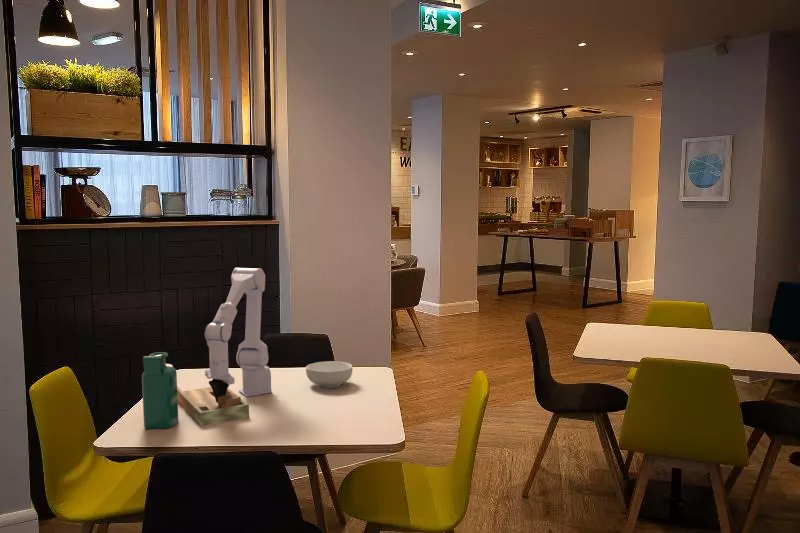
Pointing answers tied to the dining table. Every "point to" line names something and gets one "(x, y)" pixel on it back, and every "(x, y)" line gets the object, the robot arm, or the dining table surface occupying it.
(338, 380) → the cereal bowl
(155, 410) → the green bottle
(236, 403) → the block
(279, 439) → the dining table surface
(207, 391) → the trap box
